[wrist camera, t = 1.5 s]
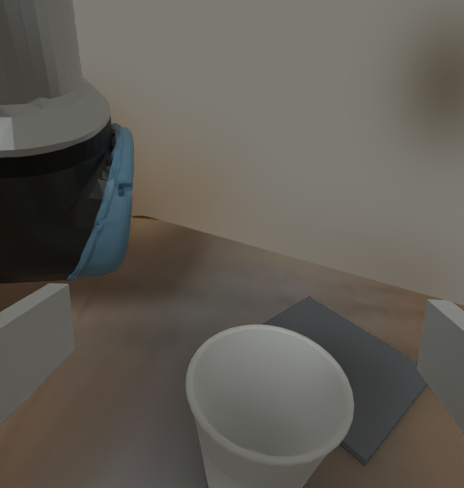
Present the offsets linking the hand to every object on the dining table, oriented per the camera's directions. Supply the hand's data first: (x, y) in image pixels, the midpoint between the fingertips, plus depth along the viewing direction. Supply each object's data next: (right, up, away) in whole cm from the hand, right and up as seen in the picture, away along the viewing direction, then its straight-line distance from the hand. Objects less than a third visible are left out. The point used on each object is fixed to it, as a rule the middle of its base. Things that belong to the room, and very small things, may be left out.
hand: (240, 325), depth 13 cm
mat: (+10, -9, +25) cm, 28 cm away
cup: (+1, -15, +13) cm, 20 cm away
